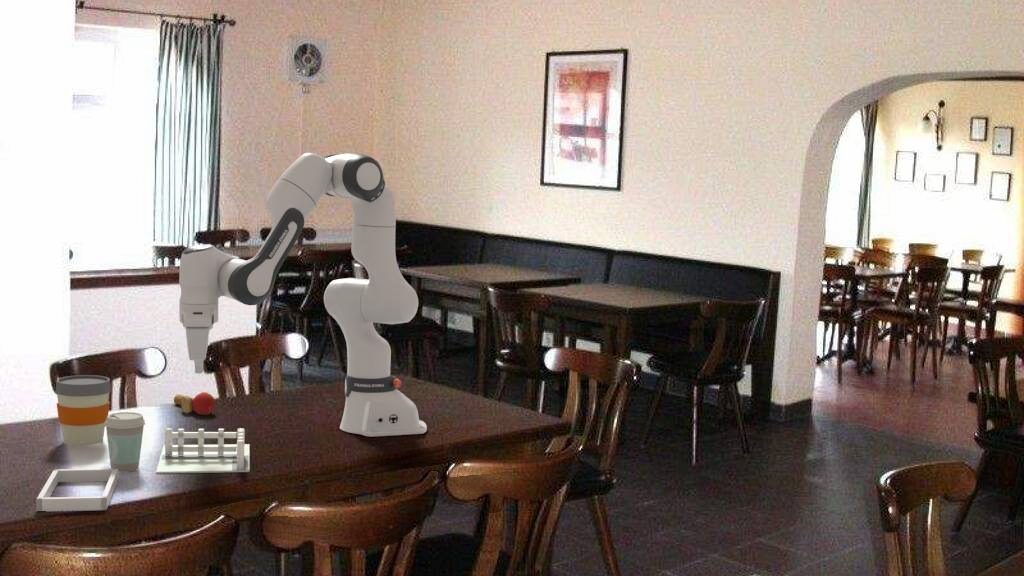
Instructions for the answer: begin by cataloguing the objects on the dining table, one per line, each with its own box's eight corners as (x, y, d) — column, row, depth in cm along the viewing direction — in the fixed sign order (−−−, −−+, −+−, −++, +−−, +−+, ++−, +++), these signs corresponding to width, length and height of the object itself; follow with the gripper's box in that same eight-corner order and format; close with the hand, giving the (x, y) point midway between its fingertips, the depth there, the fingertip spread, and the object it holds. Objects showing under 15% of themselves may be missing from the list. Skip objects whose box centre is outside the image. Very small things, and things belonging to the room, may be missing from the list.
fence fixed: (237, 457, 282) (237, 430, 281) (244, 457, 282) (244, 430, 281) (236, 469, 271) (236, 441, 270) (243, 469, 271) (244, 441, 270)
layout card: (249, 445, 295) (249, 443, 295) (249, 471, 271) (249, 469, 271) (163, 446, 290) (163, 444, 290) (156, 473, 267) (156, 471, 267)
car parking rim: (118, 479, 261) (118, 468, 261) (106, 510, 240) (106, 497, 239) (54, 480, 258) (54, 469, 258) (36, 511, 237) (36, 499, 237)
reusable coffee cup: (121, 438, 296) (121, 378, 295) (88, 450, 285) (88, 386, 283) (78, 433, 301) (78, 373, 299) (43, 443, 289) (43, 381, 287)
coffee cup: (109, 463, 274) (109, 411, 272) (148, 464, 275) (148, 411, 273) (100, 473, 265) (100, 419, 264) (140, 474, 266) (140, 420, 265)
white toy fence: (244, 453, 284) (245, 428, 283) (244, 455, 282) (244, 430, 281) (165, 453, 281) (165, 428, 280) (164, 455, 279) (164, 430, 279)
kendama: (163, 411, 334) (194, 414, 321) (165, 388, 335) (196, 390, 322) (189, 413, 339) (220, 416, 326) (191, 390, 340) (223, 393, 327)
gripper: (187, 307, 294) (187, 363, 296) (182, 321, 275) (182, 381, 276) (214, 307, 296) (214, 363, 298) (211, 321, 276) (211, 381, 278)
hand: (199, 372), depth 287 cm, fingers closed
